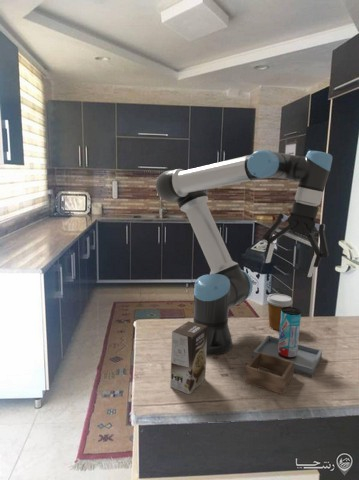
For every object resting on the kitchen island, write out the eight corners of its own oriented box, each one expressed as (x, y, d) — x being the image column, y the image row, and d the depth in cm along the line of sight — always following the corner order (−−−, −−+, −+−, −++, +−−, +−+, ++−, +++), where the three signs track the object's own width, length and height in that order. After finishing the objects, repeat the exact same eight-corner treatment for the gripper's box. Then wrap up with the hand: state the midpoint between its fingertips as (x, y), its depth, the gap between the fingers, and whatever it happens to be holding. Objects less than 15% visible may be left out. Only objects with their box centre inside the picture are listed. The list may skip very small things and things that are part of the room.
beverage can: (280, 348, 116) (284, 305, 114) (298, 353, 113) (302, 309, 111) (275, 356, 111) (279, 311, 109) (294, 361, 108) (298, 315, 106)
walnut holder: (244, 381, 99) (245, 366, 98) (258, 365, 108) (259, 351, 107) (282, 394, 93) (283, 379, 92) (293, 376, 102) (294, 361, 101)
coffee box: (190, 395, 92) (192, 337, 89) (169, 387, 95) (170, 331, 92) (206, 379, 99) (208, 325, 97) (186, 372, 103) (188, 320, 100)
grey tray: (252, 358, 111) (253, 351, 111) (267, 342, 123) (267, 335, 122) (312, 377, 102) (312, 369, 101) (321, 357, 113) (322, 350, 113)
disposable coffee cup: (291, 333, 130) (294, 302, 128) (265, 330, 132) (267, 300, 130) (289, 323, 140) (291, 294, 137) (264, 320, 141) (266, 292, 139)
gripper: (351, 213, 104) (330, 280, 108) (271, 195, 116) (255, 255, 121) (348, 213, 97) (326, 284, 102) (263, 194, 110) (247, 258, 114)
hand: (288, 269), depth 111 cm, fingers open, 13 cm apart
